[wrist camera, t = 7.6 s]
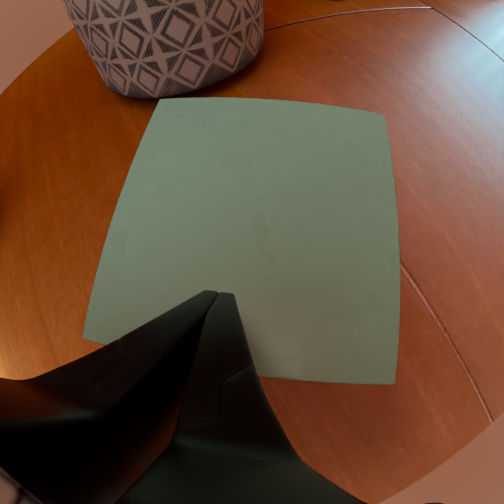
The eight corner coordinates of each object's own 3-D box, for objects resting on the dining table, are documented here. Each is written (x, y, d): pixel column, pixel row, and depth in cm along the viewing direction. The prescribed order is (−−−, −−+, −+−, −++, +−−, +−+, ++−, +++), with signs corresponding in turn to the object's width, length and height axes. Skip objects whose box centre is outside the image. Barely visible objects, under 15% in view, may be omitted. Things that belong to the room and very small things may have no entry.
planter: (293, 85, 27) (296, -70, 12) (102, 139, 26) (23, 5, 11) (243, 13, 34) (233, -85, 18) (110, 49, 33) (73, -41, 17)
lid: (162, 107, 18) (159, 98, 17) (381, 122, 16) (384, 113, 16) (90, 340, 13) (81, 338, 12) (388, 383, 11) (395, 384, 11)
